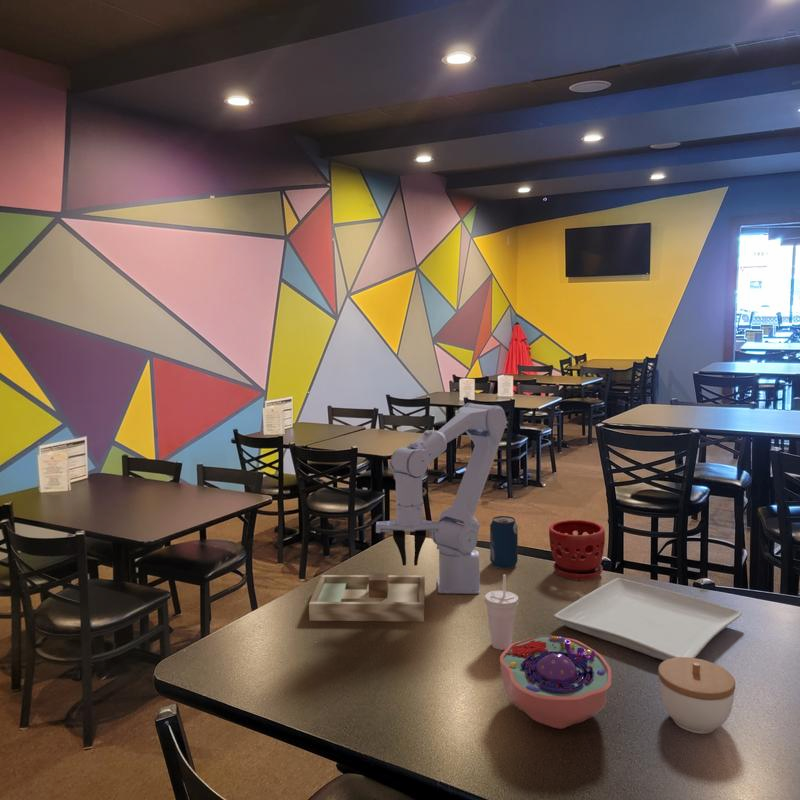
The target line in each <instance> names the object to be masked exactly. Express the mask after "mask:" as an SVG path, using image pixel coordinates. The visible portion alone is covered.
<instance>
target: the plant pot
mask: <svg viewBox="0 0 800 800" xmlns="http://www.w3.org/2000/svg"><path fill="white" fill-rule="evenodd" d="M574 532H577V533H576V534H574ZM605 532H606V531H605V528H604V526H603V525H601V524H599V523H598V522H595V521H589V520H584V519H583V520H582V519H568V520H559V521H556V522H553V523H552V524H550V525H549V528H548V538H549V546H550V551H551V556H552V558H553V560H554V563H553V569H554V571H555V572H556V573H557V574H558V575H559V576H561V577H563V578H566V579H568V580H569V579H570V580H574V581H575V580H577V581H587V580H591V579H595V578H598V577H599V576H600V575H601V574H602V573H603V570H604V569H603V568H604V567H603V566H602V564H601V561H602V559H603V557H604V549H605V541H606V537H605V536H606V533H605ZM584 533H587V534H584Z"/></svg>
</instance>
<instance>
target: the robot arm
mask: <svg viewBox="0 0 800 800" xmlns="http://www.w3.org/2000/svg"><path fill="white" fill-rule="evenodd" d="M505 413H506V412H505V410H504V409H503V407H502V406H500V405H490V404H489V405H488V404H487V405H486V404H480V403H479V404H477V403H473V402H467V403H465V404H464V405H463V406H461V407H459V409H458V411H457V414H456V415H454V416H453V417H452V418H451V419H450V420H449V421H448V422H446V423H445V424H444V425H443V426H441V427H440V428H439V429H438V430H436V429H431V430H429V429H426V430H425V431H423V435H422V436H419V437H418V438H417V439H416V440H415V441H411V442H409V445H407V446H406V447H403V446H402V447H398V448H397V449H396V450H395V451H394V452H393V453H392V454H391V457H390V460H389V461H388V463H389V467H390V469H391V471H392V473H393V479H394V481H395V509H396V510H395V513H396V520H395V519H393V520H385V521H384V520H383V521H376V524H375V533H376V534H381V533H392V539H393V541H394V543H395V545H396V546H397V549H398V551H399V555H400V558H401V562H402V566H407V565H406V564H407V551H406V533H414V538H413V539H414V559H413V566H415V567H416V566H418V561H419V556H420V552H421V550H422V547H423V544H424V543H425V540H426V538H427V533H431V539H432V541H433V543H435V545H436V549H437V550H438V563H439V564H438V567H439V568H438V569H439V571H438V573H439V576H438V578H437V593H438V594H457V595H458V594H467V595H468V594H471V595H472V594H473V595H474V594H480V583H481V575H480V555H479V551H478V550H474V549H475V548H476V546H477V543H478V536H479V535H478V534H479V530H480V527H481V525H480V523H479V521H478V520H477V518H476V516H475V512H476V510H477V508H478V504H479V502H480V498H481V496H482V494H483V493H482V492H483V490H484V488H485V485H486V482H487V480H488V478H489V474H490V472H491V469H492V465H493V463H494V461H495V457H496V455H497V452H498V450H499V446H500V443H501V440H502V438H503V434H504V432H505V429H506V427H507V424H508V421H507V417H506V414H505ZM464 433H466V434H467V436H468V438H469V439H470V440H471V441H472V442H473V445H474V447H473V450H472V452H471V454H470V457H469V460H468V463H467V465H466V469H465V471H464V473H463V476H462V479H461V481H460V485H459V487H458V488H457V489H458V490H457V492H456V495H455V498H454V501H453V503H452V505H451V506H450V507H449V508H446V509H444V510H443V511H441V514H440V515H439V518H438V520H437V521H435V520H427V519H423V517H424V515H423V476H424V474H425V473H426V472H427V470H428V467H429V465H430V464H431V462H432V461H434V460H435V459H436V458H438V457H439V456H440V455H441V454H443V453H445V452H446V450H447V447H448V445H447V444H448V443H450V442H451V441H453V440H454V439H455V440H456V438H458V437H459V436H461V435H462V434H464Z"/></svg>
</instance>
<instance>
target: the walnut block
mask: <svg viewBox="0 0 800 800" xmlns="http://www.w3.org/2000/svg"><path fill="white" fill-rule="evenodd" d="M369 575H370V576H369V598H387V596H388V575H389V572H387V573H386V572H381V573H380V572H377V573H375V572H370V573H369Z"/></svg>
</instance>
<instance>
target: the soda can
mask: <svg viewBox="0 0 800 800" xmlns="http://www.w3.org/2000/svg"><path fill="white" fill-rule="evenodd" d="M518 527H519V526H518V524H517V522H516V518H514V517H512V516H506V515H500V516H494V517H493V518H492V521H491V523H490V525H489V531H490V532H489V560H490V563H491V564H492V565H493V567H494V568H496V569H503V570H507V569H508V570H509V569H513V568H515V566H516V565H517V564H518V560H519V559H518V557H519V556H518V553H519V552H518V551H519V550H518V549H519V546H518V544H519V543H518V542H519V541H518V539H519V538H518V537H519V535H518V533H519V530H518Z"/></svg>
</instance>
